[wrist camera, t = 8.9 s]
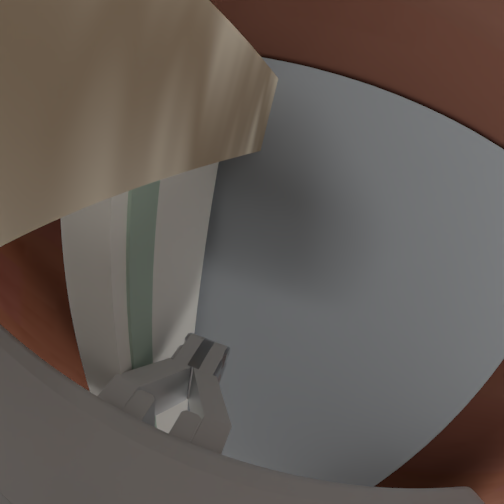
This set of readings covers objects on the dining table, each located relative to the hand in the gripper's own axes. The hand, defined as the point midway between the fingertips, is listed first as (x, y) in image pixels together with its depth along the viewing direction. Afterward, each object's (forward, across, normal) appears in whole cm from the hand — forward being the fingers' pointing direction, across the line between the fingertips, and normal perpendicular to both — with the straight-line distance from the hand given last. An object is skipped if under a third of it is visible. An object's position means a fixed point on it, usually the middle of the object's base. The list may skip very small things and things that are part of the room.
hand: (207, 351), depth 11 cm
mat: (+4, -4, +3) cm, 7 cm away
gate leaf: (+3, +2, +3) cm, 5 cm away
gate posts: (+4, +2, +3) cm, 6 cm away
